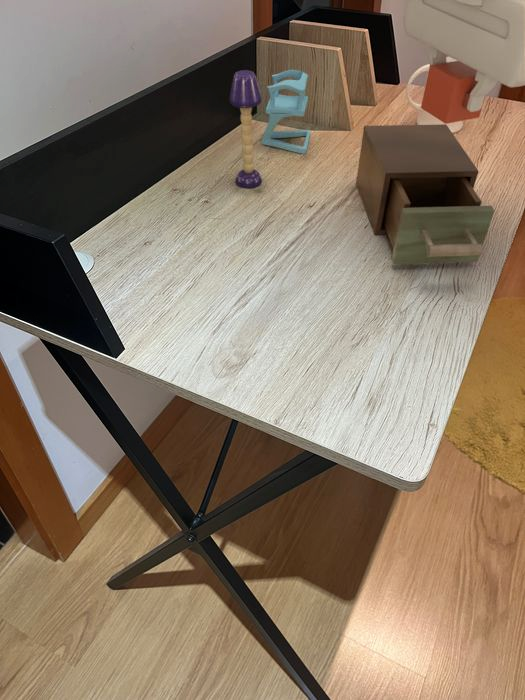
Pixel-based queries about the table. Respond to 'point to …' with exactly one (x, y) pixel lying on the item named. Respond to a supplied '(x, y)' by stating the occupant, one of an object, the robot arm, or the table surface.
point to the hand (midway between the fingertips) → (453, 98)
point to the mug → (424, 116)
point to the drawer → (435, 220)
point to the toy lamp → (246, 123)
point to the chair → (286, 110)
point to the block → (449, 91)
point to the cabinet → (406, 162)
